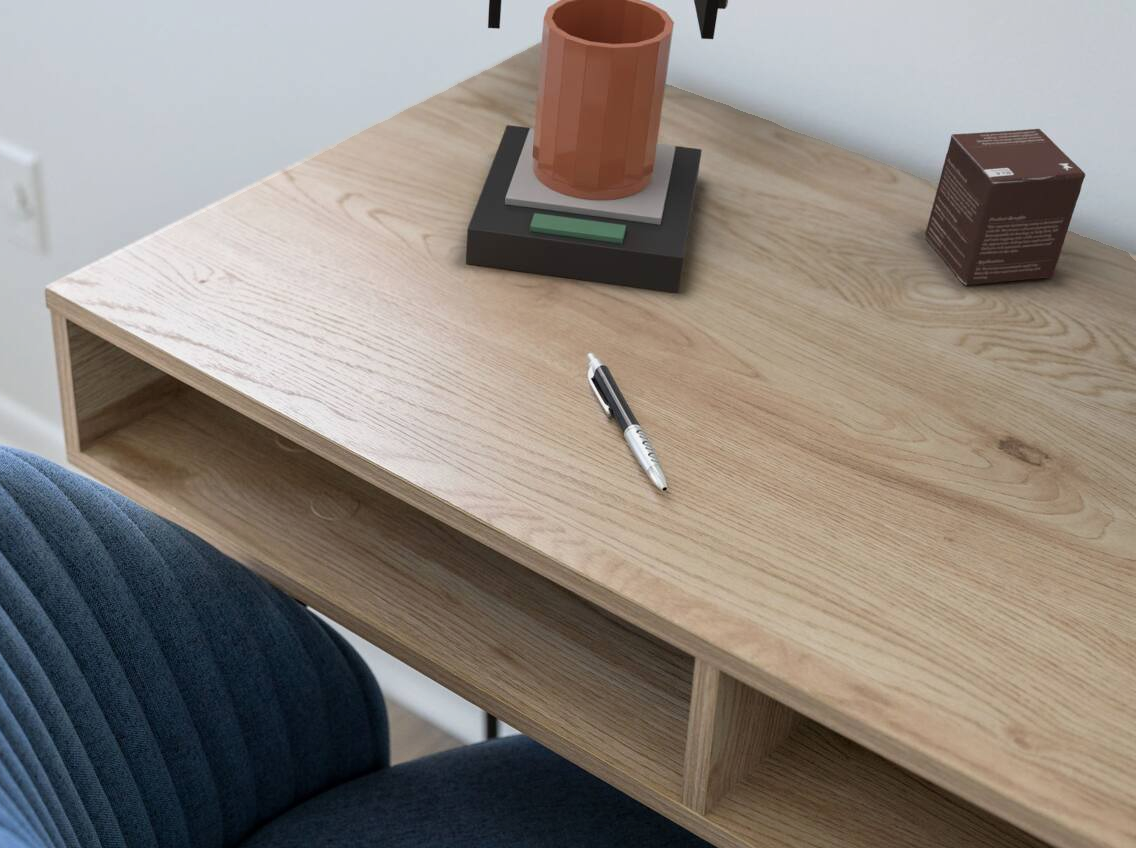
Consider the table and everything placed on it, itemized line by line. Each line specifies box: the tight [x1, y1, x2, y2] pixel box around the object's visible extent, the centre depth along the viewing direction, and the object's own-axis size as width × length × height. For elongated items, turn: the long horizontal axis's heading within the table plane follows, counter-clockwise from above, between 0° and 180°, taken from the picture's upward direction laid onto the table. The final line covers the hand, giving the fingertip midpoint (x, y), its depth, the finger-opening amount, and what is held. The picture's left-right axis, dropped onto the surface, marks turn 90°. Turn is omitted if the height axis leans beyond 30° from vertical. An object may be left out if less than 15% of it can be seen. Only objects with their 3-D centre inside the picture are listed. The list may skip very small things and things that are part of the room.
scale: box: [465, 124, 703, 294], centre depth 102 cm, size 13×14×3 cm
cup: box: [532, 0, 675, 200], centre depth 99 cm, size 8×8×10 cm
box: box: [924, 128, 1086, 286], centre depth 99 cm, size 6×6×7 cm
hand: (602, 13), depth 102 cm, fingers open, 13 cm apart
